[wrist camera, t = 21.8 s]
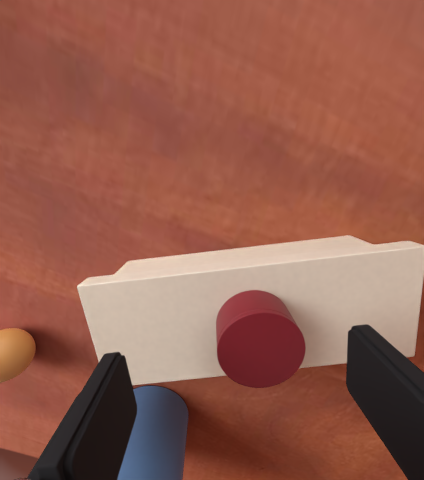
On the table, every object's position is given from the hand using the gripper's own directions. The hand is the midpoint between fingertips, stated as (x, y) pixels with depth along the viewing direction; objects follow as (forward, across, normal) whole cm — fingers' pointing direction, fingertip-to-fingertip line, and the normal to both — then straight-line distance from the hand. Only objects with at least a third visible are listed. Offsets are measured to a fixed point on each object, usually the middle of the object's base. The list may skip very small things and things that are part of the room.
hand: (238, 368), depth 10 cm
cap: (+2, -1, +1) cm, 2 cm away
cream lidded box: (+10, -1, 0) cm, 10 cm away
